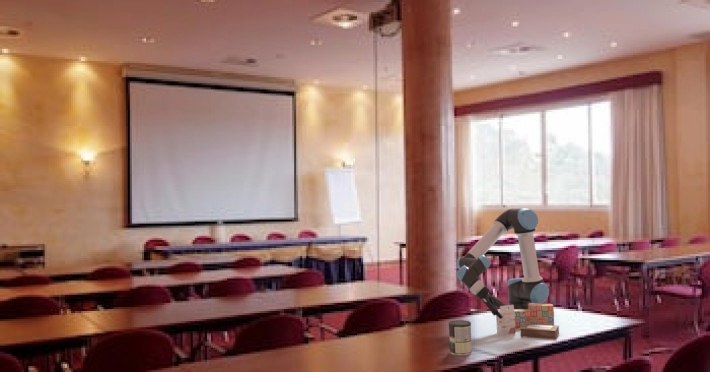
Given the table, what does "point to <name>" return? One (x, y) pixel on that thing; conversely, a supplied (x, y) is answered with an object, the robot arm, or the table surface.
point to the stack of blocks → (535, 315)
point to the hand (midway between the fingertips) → (509, 320)
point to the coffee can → (460, 337)
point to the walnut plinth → (540, 331)
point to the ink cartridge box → (510, 325)
